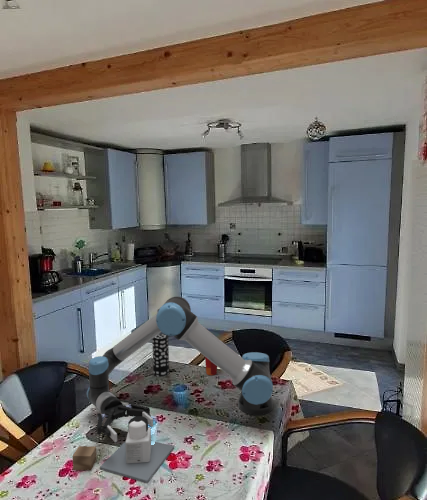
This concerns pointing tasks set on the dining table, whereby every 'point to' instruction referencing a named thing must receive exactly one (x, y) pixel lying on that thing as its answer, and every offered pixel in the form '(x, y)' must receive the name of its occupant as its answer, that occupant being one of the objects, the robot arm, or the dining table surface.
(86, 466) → the walnut block
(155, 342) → the white-spotted black cylinder
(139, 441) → the container
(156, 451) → the slate plate
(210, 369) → the paper cup
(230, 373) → the robot arm
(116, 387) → the dining table surface
